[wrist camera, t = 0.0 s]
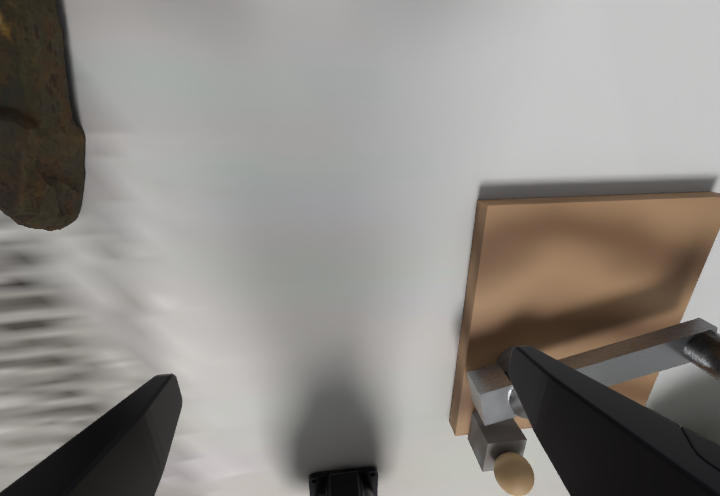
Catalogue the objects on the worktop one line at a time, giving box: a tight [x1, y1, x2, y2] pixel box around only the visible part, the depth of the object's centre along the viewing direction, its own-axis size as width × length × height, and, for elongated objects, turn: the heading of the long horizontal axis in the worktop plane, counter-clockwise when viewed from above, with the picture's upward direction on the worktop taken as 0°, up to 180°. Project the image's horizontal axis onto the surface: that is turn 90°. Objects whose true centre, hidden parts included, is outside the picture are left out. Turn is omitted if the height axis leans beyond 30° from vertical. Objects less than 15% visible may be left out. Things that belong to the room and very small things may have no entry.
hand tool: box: [0, 0, 85, 231], centre depth 15 cm, size 19×4×5 cm, turn 170°
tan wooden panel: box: [449, 192, 720, 496], centre depth 25 cm, size 22×18×7 cm
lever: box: [467, 318, 720, 426], centre depth 22 cm, size 18×4×8 cm, turn 105°
